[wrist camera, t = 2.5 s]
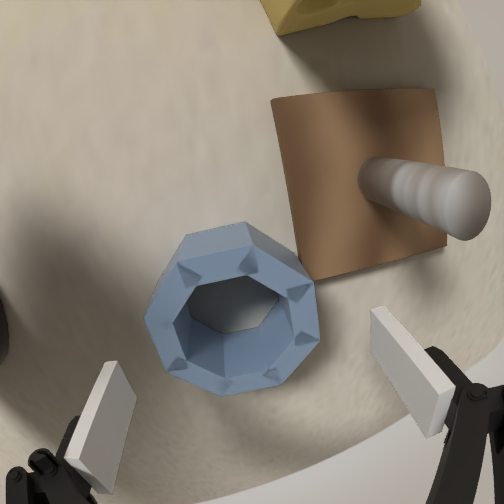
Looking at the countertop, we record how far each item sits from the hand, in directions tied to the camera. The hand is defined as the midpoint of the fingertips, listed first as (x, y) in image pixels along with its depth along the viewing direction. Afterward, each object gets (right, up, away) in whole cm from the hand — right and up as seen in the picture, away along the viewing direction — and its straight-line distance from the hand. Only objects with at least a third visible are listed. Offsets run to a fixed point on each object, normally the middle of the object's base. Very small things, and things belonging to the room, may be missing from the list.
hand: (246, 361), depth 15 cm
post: (+8, +10, +5) cm, 14 cm away
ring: (-1, +3, +7) cm, 8 cm away
